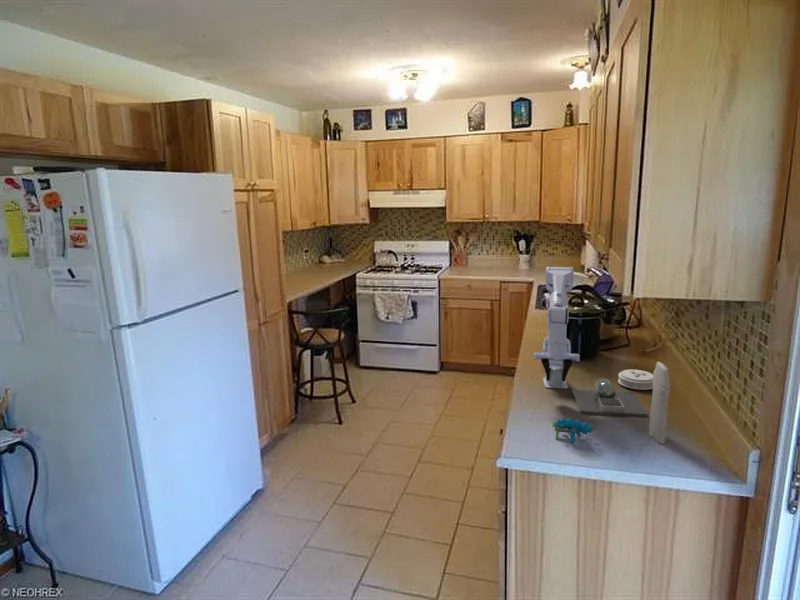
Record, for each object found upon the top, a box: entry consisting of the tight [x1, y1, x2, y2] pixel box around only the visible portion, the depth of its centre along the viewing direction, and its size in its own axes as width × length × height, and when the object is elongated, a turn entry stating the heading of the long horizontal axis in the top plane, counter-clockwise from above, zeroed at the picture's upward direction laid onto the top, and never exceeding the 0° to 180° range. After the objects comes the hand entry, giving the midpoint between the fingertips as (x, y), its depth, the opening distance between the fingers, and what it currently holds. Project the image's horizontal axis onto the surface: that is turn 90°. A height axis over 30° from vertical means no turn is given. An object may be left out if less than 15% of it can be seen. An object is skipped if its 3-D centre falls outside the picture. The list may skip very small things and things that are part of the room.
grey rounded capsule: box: [549, 366, 563, 389], centre depth 169 cm, size 4×4×6 cm
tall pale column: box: [648, 361, 671, 445], centre depth 142 cm, size 11×4×22 cm, turn 170°
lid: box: [617, 369, 654, 391], centre depth 183 cm, size 13×13×5 cm
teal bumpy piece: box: [552, 417, 594, 444], centre depth 143 cm, size 11×6×10 cm
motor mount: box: [572, 377, 648, 418], centre depth 167 cm, size 18×20×6 cm
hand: (555, 380), depth 169 cm, fingers closed on grey rounded capsule, 4 cm apart
